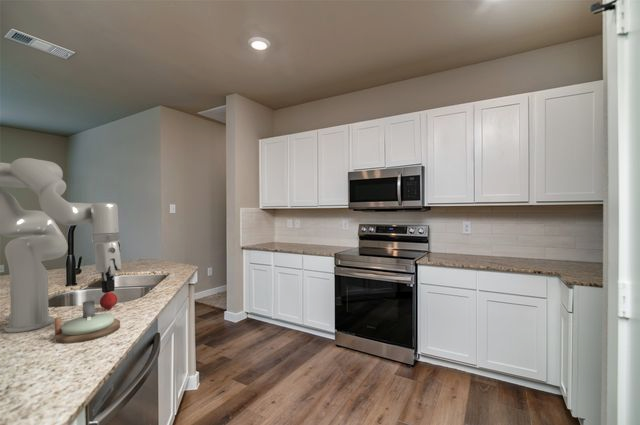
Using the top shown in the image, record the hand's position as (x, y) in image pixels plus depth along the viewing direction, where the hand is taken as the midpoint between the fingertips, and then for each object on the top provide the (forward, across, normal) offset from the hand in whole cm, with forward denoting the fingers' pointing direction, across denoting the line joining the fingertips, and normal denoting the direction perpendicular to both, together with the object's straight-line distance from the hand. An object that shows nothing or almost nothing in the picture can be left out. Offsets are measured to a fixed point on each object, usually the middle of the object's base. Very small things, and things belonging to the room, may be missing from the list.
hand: (108, 291), depth 102 cm
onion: (+12, +22, -7) cm, 26 cm away
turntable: (+10, +1, +6) cm, 12 cm away
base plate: (+12, +1, +6) cm, 13 cm away
